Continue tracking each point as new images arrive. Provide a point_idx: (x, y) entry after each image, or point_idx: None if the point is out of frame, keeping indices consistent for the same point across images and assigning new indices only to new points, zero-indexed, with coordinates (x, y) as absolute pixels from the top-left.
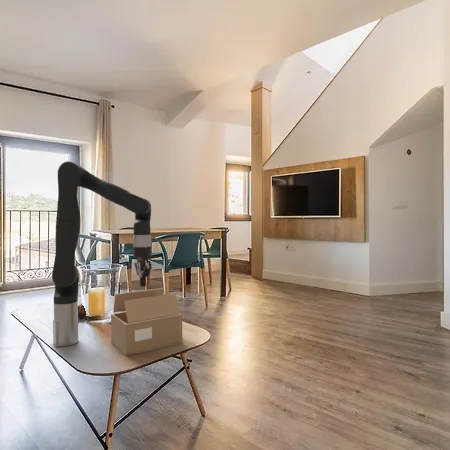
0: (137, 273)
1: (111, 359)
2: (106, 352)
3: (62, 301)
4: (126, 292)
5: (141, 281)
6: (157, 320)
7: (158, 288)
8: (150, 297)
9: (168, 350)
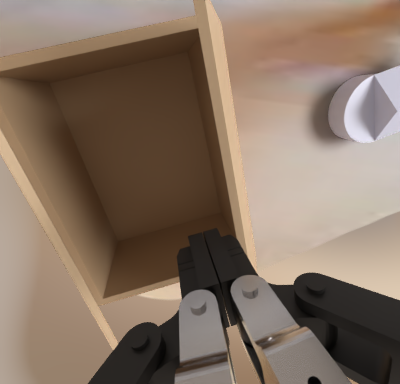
0: (313, 290)
1: (19, 22)
2: (95, 12)
3: None
4: (222, 103)
5: (195, 265)
6: (53, 218)
7: None
8: (57, 251)
9: None
